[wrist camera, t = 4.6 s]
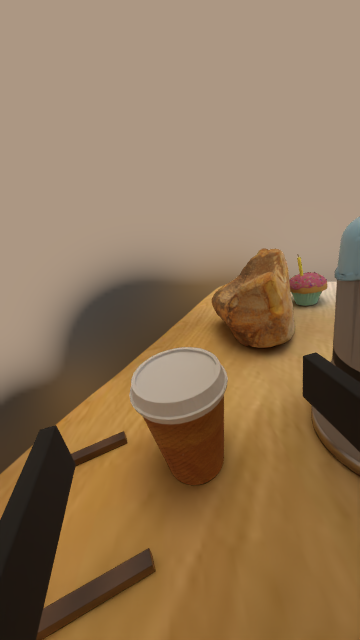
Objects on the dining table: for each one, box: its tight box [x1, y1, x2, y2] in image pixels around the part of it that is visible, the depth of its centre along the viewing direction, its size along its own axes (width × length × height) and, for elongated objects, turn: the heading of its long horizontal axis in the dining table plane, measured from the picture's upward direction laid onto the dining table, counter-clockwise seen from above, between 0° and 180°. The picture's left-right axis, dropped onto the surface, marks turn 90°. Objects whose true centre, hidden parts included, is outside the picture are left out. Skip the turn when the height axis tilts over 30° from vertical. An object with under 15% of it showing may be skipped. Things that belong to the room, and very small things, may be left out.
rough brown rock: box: [212, 249, 295, 348], centre depth 52 cm, size 23×17×15 cm
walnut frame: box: [36, 431, 155, 640], centre depth 25 cm, size 11×15×1 cm
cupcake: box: [289, 255, 327, 306], centre depth 58 cm, size 9×8×12 cm
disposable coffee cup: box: [129, 347, 228, 485], centre depth 26 cm, size 10×10×12 cm
